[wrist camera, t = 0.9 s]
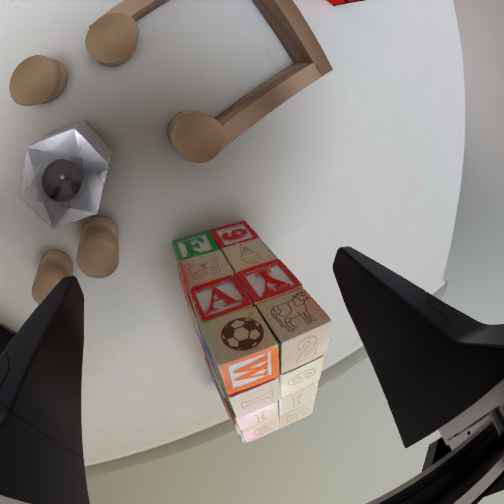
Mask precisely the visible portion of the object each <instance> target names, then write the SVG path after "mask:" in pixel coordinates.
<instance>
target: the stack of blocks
mask: <svg viewBox="0 0 504 504" xmlns="http://www.w3.org/2000/svg"><path fill="white" fill-rule="evenodd" d="M172 244H173V248H174V252H175V256H176V260H177V264H178V268H179V275H180V279H181V283H182V286H183V290H184V293H185V297H186V300H187V304H188V308H189V311H190V314H191V317H192V321H193V323H194V326H195V328H196V331H197V333H198V336H199V339H200V342H201V344H202V347H203V349H204V352H205V355H206V358H205V359H206V362H207V365H208V368H209V371H210V373H211V376H212V378H213V381H214V383H215V385H216V388H217V390H218V392H219V395H220V397H221V399H222V401H223V404H224V406H225V408H226V411H227V413H228V415H229V417H230V419H231V421H232V422H233V425H234V427H235V429H236V431H237V433H238V434H239V436H240V438H241V440H242V442H249V441H252V440H255V439H257V438H259V437H262V436H264V435H266V434H268V433H271V432H273V431H276V430H278V429H280V428H282V427H284V426H286V425H288V424H290V423H293V422H295V421H297V420H299V419H301V418H304V417H306V416H308V415H309V414H311V413H312V411H313V406H314V401H315V396H316V391H317V387H318V380H319V379H320V376H321V371H322V366H323V361H324V354H325V353H326V351H327V346H328V341H329V337H330V332H331V327H332V321H331V319H330V318H329V316H328V315H327V314H326V313H325V312H324V310H323V309H322V308H321V307H320V306H319V305H318V304H317V303H316V301H315V300H314V299H313V298H312V297H311V296H310V295H309V294H308V293H307V292H306V290H304V289H303V287H302V284H301V283H300V282H299V280H298V279H297V278H296V277H295V276H294V275H293V273H292V272H291V271H290V270H289V269H288V268H287V267H286V266H285V265H284V264H283V262H282V261H281V260H280V259H278V258H277V257H276V256H275V255H274V254H273V253H272V252H271V250H270V249H269V248H268V247H267V246H266V245H265V244H264V242H263V241H262V240H261V239H260V237H259V236H258V235H257V234H256V233H255V232H254V230H252V228H251V227H250V226H249V225H248V224H247V223H246V222H245V221H243V222H239V223H235V224H231V225H228V226H224V227H221V228H217V229H213V230H210V231H208V232H205V233H201V234H197V235H194V236H190V237H186V238H183V239H180V240H176V241H173V242H172Z"/></svg>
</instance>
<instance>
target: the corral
mask: <svg viewBox="0 0 504 504" xmlns="http://www.w3.org/2000/svg"><path fill="white" fill-rule="evenodd" d="M167 1H169V0H124V1H122V2H121V3H120V4H118V5H117V6H115V7H114V8H113V9H111V10H110V11H108V12H107V13H106V14H104V15H103V16H105V15H108V14H112V13H123V14H126V15H129V16H130V17H132V18H133V19H134V20H135V22H136V21H138V20H139V19H141V18H142V17H143V16H145V15H146V14H148V13H149V12H151V11H153V10H154V9H156V8H157V7H159V6H160V5H162V4H164V3H165V2H167ZM252 1H253V2H254V4H255V5H256V6H257V8H258V9H259V10H260V12H261V13H262V15H263V16H264V18H265V19H266V20H267V22H268V23H269V25H270V26H271V28H272V29H273V31H274V32H275V34H276V35H277V37H278V38H279V40H280V41H281V43H282V45H283V46H284V48H285V49H286V51H287V52H288V54H289V56H290V57H291V59H292V61H293V62H294V64H292V65H291V66H289V67H287V68H286V69H284V70H283V71H281V72H279V73H278V74H276V75H275V76H273V77H272V78H270V79H269V80H267V81H266V82H264V83H263V84H261V85H260V86H258V87H257V88H255V89H254V90H253V91H251V92H250V93H248V94H247V95H245V96H244V97H243V98H241V99H240V100H239V101H237V102H236V103H234V104H233V105H232V106H230V107H229V108H228V109H226V110H225V111H224V112H222V113H221V114H220V115H218V116H217V117H216V118H215V119H216V120H217V121H218V122H219V123H220V124H221V126H222V128H223V131H224V144H223V146H222V149H223V148H224V147H225V146H227V145H228V144H229V143H230V142H232V141H233V140H234V139H235V138H237V137H238V136H239V135H240V134H242V133H243V132H244V131H246V130H247V129H248V128H249V127H251V126H252V125H253V124H255V123H256V122H257V121H259V120H260V119H261V118H263V117H264V116H265V115H267V114H268V113H269V112H271V111H272V110H274V109H275V108H276V107H278V106H279V105H281V104H282V103H283V102H285V101H286V100H288V99H289V98H290V97H292V96H293V95H295V94H296V93H298V92H299V91H301V90H302V89H304V88H305V87H307V86H308V85H310V84H311V83H313V82H314V81H316V80H317V79H319V78H320V77H322V76H323V75H325V74H326V73H328V72H330V71H331V70H333V69H332V67H331V65H330V63H329V61H328V59H327V57H326V55H325V54H324V52H323V50H322V48H321V46H320V44H319V43H318V41H317V39H316V37H315V36H314V34H313V32H312V31H311V29H310V27H309V26H308V24H307V22H306V21H305V19H304V17H303V16H302V14H301V13H300V11H299V9H298V8H297V6H296V5H295V3H294V2H293V0H252ZM103 16H102V17H103ZM100 18H101V17H100ZM100 18H99V19H100ZM95 22H96V21H95ZM93 24H94V23H93ZM93 24H92V25H93ZM92 25H90V26H89V28H90V27H91V26H92ZM222 149H221V150H222ZM206 162H207V161H206Z"/></svg>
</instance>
